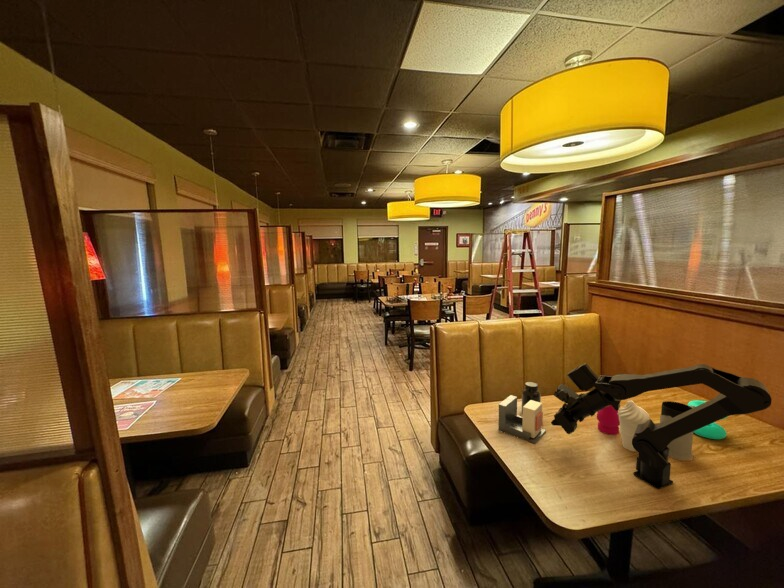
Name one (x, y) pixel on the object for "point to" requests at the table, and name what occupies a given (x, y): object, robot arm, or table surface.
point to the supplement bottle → (530, 393)
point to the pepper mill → (608, 420)
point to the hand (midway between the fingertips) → (552, 423)
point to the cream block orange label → (532, 418)
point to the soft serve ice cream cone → (630, 422)
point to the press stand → (514, 421)
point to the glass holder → (683, 444)
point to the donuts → (709, 426)
